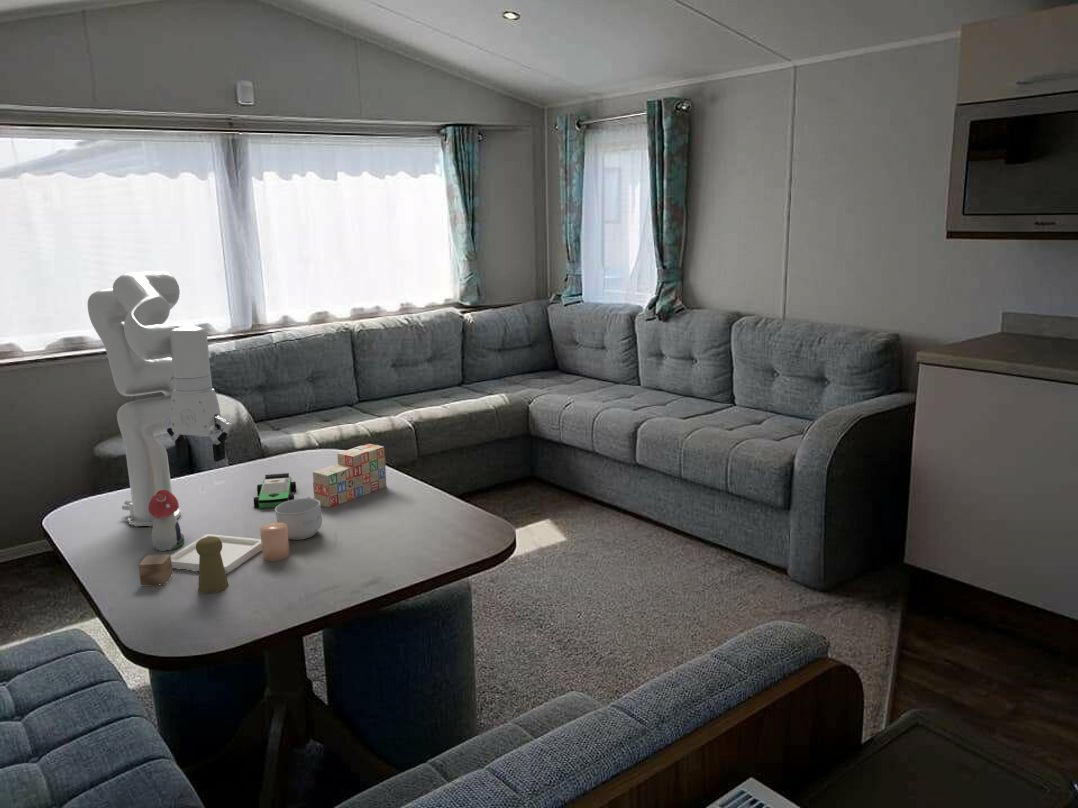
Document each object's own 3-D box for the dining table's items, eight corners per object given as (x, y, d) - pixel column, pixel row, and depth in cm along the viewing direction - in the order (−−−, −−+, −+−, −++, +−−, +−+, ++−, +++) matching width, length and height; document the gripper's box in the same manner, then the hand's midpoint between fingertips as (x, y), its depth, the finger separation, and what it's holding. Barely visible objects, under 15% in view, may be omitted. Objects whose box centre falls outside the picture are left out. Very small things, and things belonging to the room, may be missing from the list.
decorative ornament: (173, 554, 196) (166, 493, 193) (145, 554, 196) (138, 493, 193) (190, 538, 205) (183, 480, 202) (163, 538, 205) (156, 480, 202)
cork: (203, 581, 182) (197, 533, 179) (231, 580, 182) (227, 532, 180) (194, 594, 176) (188, 545, 173) (224, 592, 176) (218, 543, 174)
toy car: (253, 511, 224) (252, 494, 223) (259, 488, 242) (258, 472, 241) (294, 508, 226) (292, 490, 225) (296, 485, 245) (295, 469, 244)
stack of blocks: (329, 508, 225) (326, 464, 222) (314, 504, 229) (310, 460, 226) (387, 486, 242) (384, 445, 239) (371, 483, 246) (369, 442, 243)
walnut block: (141, 586, 180) (138, 564, 179) (149, 576, 185) (146, 555, 183) (165, 585, 180) (162, 563, 179) (172, 575, 185) (170, 554, 184)
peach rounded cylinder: (257, 559, 193) (254, 530, 191) (271, 549, 198) (269, 521, 197) (280, 561, 191) (278, 533, 190) (294, 551, 197) (292, 523, 195)
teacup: (310, 545, 201) (308, 513, 199) (269, 542, 203) (266, 510, 201) (335, 524, 214) (333, 494, 212) (296, 521, 216) (293, 491, 214)
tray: (163, 567, 189) (162, 560, 188) (207, 540, 204) (207, 533, 203) (226, 574, 185) (225, 567, 184) (266, 546, 200) (265, 539, 199)
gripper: (148, 385, 183) (156, 460, 187) (216, 389, 178) (224, 466, 182) (171, 378, 190) (179, 450, 194) (238, 382, 185) (244, 456, 189)
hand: (201, 458), depth 188 cm, fingers open, 9 cm apart
